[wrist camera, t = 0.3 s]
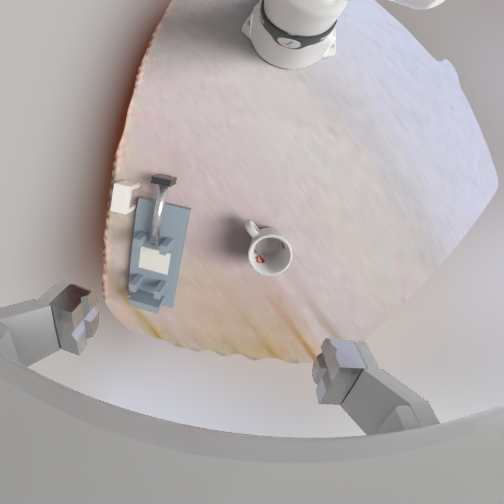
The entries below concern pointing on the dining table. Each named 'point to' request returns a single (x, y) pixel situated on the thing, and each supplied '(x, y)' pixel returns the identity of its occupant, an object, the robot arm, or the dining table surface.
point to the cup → (268, 250)
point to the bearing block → (156, 256)
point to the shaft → (159, 205)
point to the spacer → (123, 196)
